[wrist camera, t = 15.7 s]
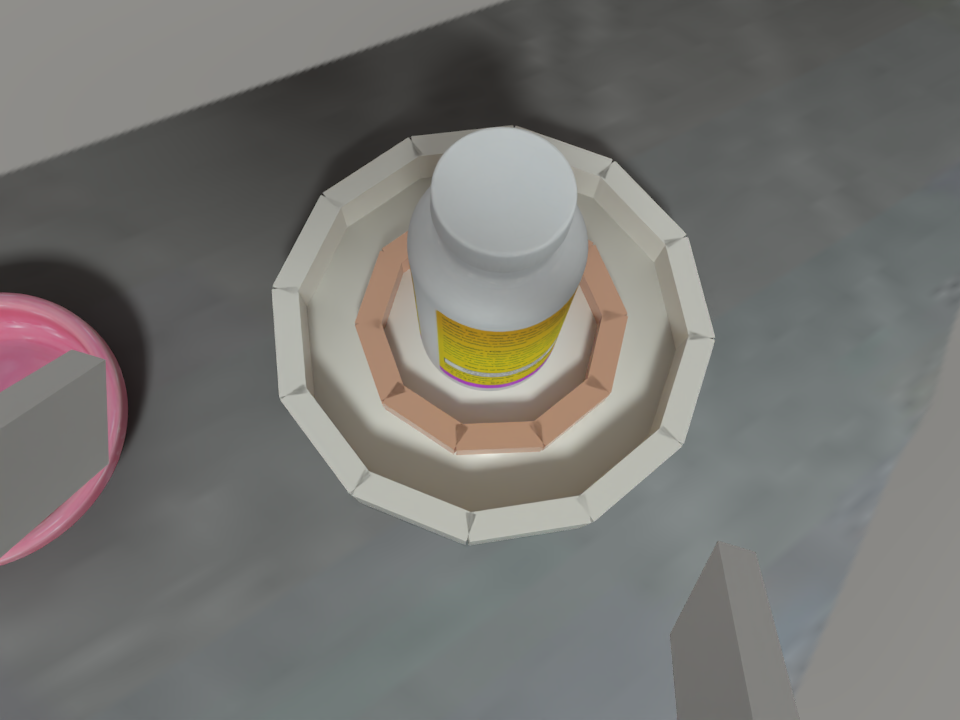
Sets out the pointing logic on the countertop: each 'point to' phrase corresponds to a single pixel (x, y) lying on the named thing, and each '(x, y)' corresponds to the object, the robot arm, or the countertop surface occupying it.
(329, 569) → the countertop surface
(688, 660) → the robot arm
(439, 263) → the supplement bottle
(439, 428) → the ceramic tray
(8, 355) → the saucer
